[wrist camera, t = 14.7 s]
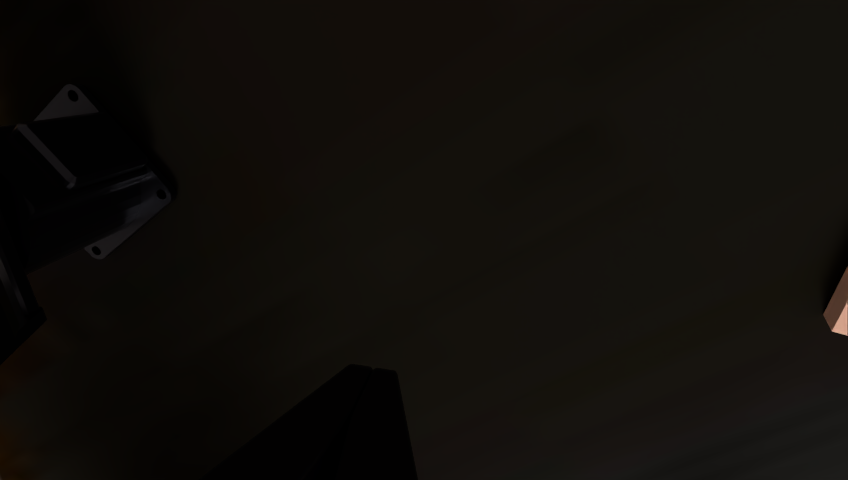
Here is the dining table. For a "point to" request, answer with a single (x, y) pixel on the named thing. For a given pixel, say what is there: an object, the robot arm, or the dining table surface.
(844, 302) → the domino
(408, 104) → the dining table surface
